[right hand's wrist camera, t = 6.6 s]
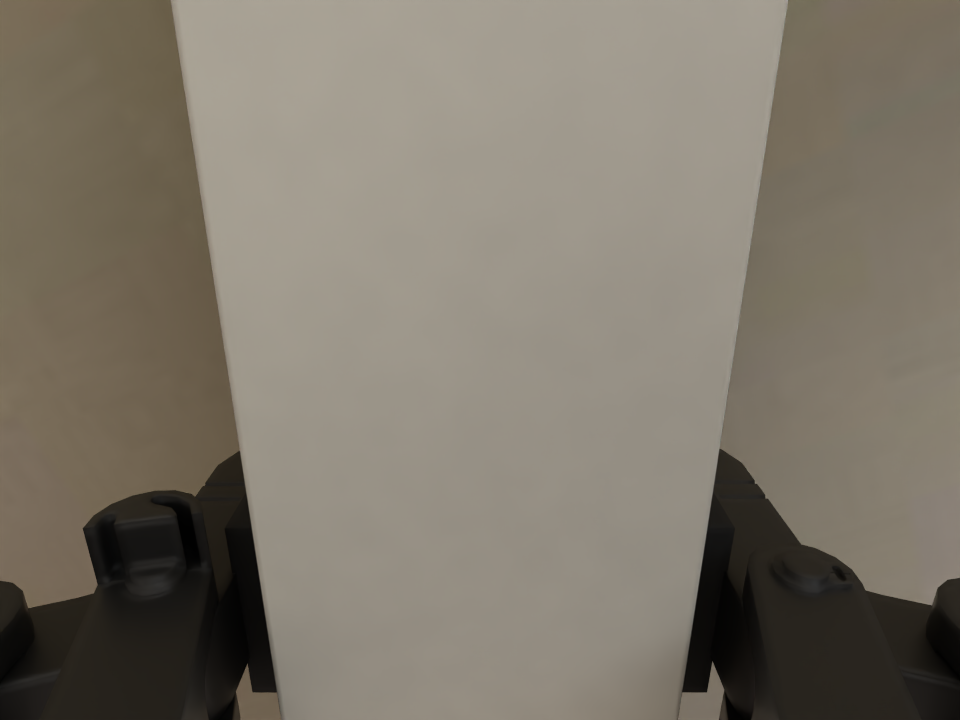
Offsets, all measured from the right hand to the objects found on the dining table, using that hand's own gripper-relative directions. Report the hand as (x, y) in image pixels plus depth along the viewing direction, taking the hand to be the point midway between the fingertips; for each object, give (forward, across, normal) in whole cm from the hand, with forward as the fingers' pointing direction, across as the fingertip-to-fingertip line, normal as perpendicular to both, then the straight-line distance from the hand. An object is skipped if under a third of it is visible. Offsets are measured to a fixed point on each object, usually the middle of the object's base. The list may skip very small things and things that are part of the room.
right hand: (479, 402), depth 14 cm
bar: (+1, 0, -22) cm, 22 cm away
